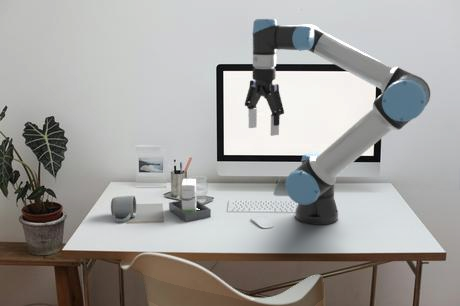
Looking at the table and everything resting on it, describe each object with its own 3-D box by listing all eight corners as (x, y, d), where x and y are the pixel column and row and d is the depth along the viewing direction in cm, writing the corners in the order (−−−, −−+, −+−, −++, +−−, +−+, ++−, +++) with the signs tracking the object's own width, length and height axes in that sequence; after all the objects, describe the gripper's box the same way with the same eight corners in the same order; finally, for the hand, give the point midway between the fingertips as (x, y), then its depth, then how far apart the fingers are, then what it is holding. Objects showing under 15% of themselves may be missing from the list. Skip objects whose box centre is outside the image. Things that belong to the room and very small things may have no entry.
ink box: (195, 216, 203) (195, 185, 200) (181, 216, 203) (181, 185, 200) (196, 208, 212) (196, 178, 209) (183, 208, 212) (182, 178, 209)
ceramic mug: (114, 212, 208) (113, 192, 206) (137, 212, 208) (136, 192, 206) (109, 223, 198) (107, 203, 196) (132, 223, 198) (131, 203, 196)
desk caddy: (193, 205, 216) (193, 198, 215) (210, 217, 204) (210, 209, 203) (169, 210, 211) (169, 202, 210) (185, 222, 199) (185, 214, 198)
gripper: (234, 64, 194) (234, 125, 199) (276, 71, 173) (274, 139, 178) (253, 63, 197) (253, 123, 203) (296, 70, 176) (294, 137, 182)
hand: (263, 131), depth 190 cm, fingers open, 13 cm apart
